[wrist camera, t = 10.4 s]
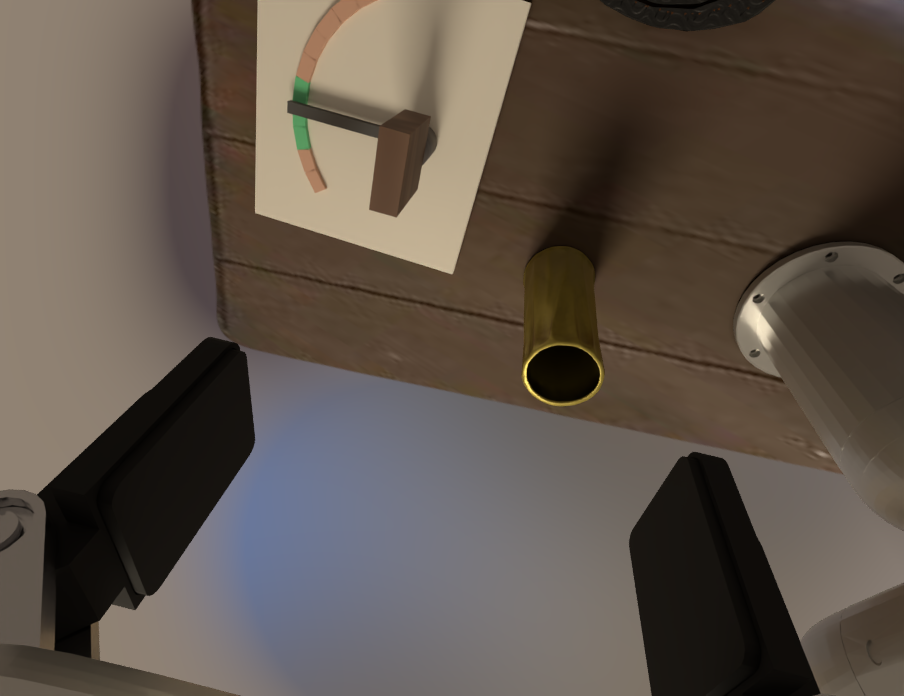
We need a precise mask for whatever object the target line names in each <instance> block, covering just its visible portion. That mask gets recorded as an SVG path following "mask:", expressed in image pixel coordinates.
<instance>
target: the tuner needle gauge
mask: <svg viewBox="0 0 904 696" xmlns="http://www.w3.org/2000/svg"><path fill="white" fill-rule="evenodd" d="M287 113H289V114H293V115H297V116H300V117H304V118H307V119H311V120H314V121H318V122H321V123H325V124H328V125H332V126H336V127H339V128H343V129H346V130H350V131H353V132H357V133H360V134H364V135H367V136H371V137H375V138H378V142H377V150H376V158H375V166H374V174H373V182H372V190H371V197H370V205H369V210H371V211H375V212H378V213H382V214H386V215H389V216H393V217H396V218H397V216H398V215H399V214H400V212H401V211H402V210H403V208H404V207H405V206H406V204H407V203H408V202H409V200H410V199H411V198H412V196H413V195H414V194H415V192H416V191H417V190H418V185H419V179H420V174H421V169H422V165H424V164H425V162H426V161H427V160H428V159H429V158H430V156H431V155H432V154H433V153H434V151H435V150H436V147H437V137H436V134H435V132H434V131H433V130H432V129H431V128H430V127H429V125H430V120H431V116H428V115H425V114H421V113H417V112H414V111H410V110H407V109H404V110H403V111H401V112H400V113H398V114H397V115H395V116H394V117H392V118H391V119H389V120H388V121H386V122H385V123H383V124H382V125H378V124H374V123H371V122H367V121H364V120H360V119H357V118H353V117H350V116H346V115H342V114H339V113H335V112H332V111H328V110H325V109H321V108H318V107H314V106H311V105H307V104H303V103H300V102H296V101H293V100H289V101H287Z"/></svg>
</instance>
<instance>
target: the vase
mask: <svg viewBox="0 0 904 696" xmlns="http://www.w3.org/2000/svg"><path fill="white" fill-rule="evenodd" d="M594 283H595V272H594V267H593V265H592V263H591V262H590V260H589V259H588V258H587V257H586V256H585V254H583V253H582V252H580V251H579V250H577V249H574V248H571V247H567V246H555V247H550V248H547V249H545V250H543V251H541V252H539V253H538V254H536V255H535V256H534V257H533V258H532V259H531V260H530V261H529V263H528V264H527V266H526V268H525V272H524V278H523V285H524V288H525V295H524V348H523V364H522V374H521V376H522V380H523V383H524V385H525V387H526V388H527V390H528V391H529V392H530V393H531V394H532V395H533V396H534V397H535V398H537V399H538V400H540V401H542V402H544V403H547V404H550V405H554V406H570V405H575V404H579V403H582V402H584V401H586V400H588V399H590V398H591V397H593V396H594V395H595V394H596V393H597V392H598V391H599V389H600V388H601V385H602V383H603V380H604V375H605V369H604V365H603V360H602V355H601V349H600V344H599V338H598V329H597V318H596V306H595V294H594Z"/></svg>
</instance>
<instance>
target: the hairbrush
mask: <svg viewBox="0 0 904 696" xmlns="http://www.w3.org/2000/svg"><path fill="white" fill-rule="evenodd" d="M600 1H602V2H603V3H604V4H605V5H607V6H609V7H610V8H612V9H614V10H616V11H618V12H619V13H621V14H623V15H625V16H627V17H629V18H631V19H634V20H636V21H639V22H642V23H644V24H647V25H650V26H653V27H658V28H666V29H676V30H682V31H696V30H706V29H715V28H719V27H724V26H728V25H733V24H737V23H741V22H745V21H747V20H749V19H751V18H752V17H754V16H756V15H757V14H759V13H760V12H762V11H763V10H764V9H765V8H766V7H768V6H769V5H770V4H771V3H772V2H774V1H775V0H718V1H715V2H712V3H709V4H707V5H702V6H695V7H688V8H663V7H653V6H652V7H651V6H649V5H646V4H644V3H641V2H639V1H637V0H600ZM646 1H650V2H653V3H657V4H664V5H687V4H699V3H703V2H705V1H708V0H646Z"/></svg>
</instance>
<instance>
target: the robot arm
mask: <svg viewBox="0 0 904 696" xmlns="http://www.w3.org/2000/svg"><path fill="white" fill-rule="evenodd" d="M755 295H756V296H755ZM733 331H734V336H735V340H736V342H737V344H738V346H739V348H740V350H741V352H742V353H743V355H744V356H745V358H746V359H747V360H748V361H749V362H750V363H752V364H753V365H754V366H755V367H756V368H758V369H760V370H762V371H764V372H766V373H768V374H771V375H775V376H778V377H782V379H783V380H784V382H785V384H786V385H787V387H788V388H789V390H790V391H791V393H792V395H793V396H794V398H795V399H796V401H797V402H798V404H799V406H800V407H801V409H802V410H803V412H804V413H805V415H806V417H807V418H808V420H809V421H810V423H811V424H812V426H813V427H814V429H815V431H816V432H817V434H818V435H819V437H820V438H821V440H822V442H823V443H824V445H825V446H826V448H827V449H828V451H829V453H830V454H831V456H832V457H833V459H834V460H835V462H836V463H837V465H838V467H839V468H840V469H841V471H842V472H843V474H844V475H845V477H846V478H847V480H848V482H849V483H850V485H851V486H852V488H853V489H854V491H855V492H856V494H857V495H858V496H859V497H860V499H861V500H862V501H863V502H864V503H865V504H866V505H867V506H868V507H869V508H870V509H871V510H872V511H873V512H874V513H876V514H877V515H878V516H879V517H881V518H882V519H884V520H885V521H886V522H888V523H889V524H891V525H893V526H895V527H897V528H899V529H901V530H902V531H904V263H903V262H902V261H900V260H899V259H898V258H897V257H895V256H894V255H893V254H891V253H889V252H887V251H886V250H884V249H882V248H880V247H877V246H874V245H870V244H867V243H860V242H851V241H848V242H831V243H826V244H821V245H816V246H812V247H809V248H806V249H803V250H801V251H798V252H795V253H793V254H791V255H789V256H787V257H785V258H783V259H781V260H779V261H778V262H777V263H775V264H774V265H772V266H771V267H769V268H768V269H766V270H765V271H764V272H763V273H762V274H761V275H760V276H759V277H758V278H756V279H755V280H754V281H753V282H752V284H751V285H750V286H749V287H748V289H747V290H746V291H745V293H744V294H743V296H742V298H741V300H740V302H739V303H738V305H737V308H736V312H735V315H734V322H733ZM254 443H255V433H254V423H253V414H252V404H251V395H250V385H249V376H248V367H247V357H246V354H245V352H242V351H240V347H239V345H238V344H237V343H234V342H229V341H225V340H221V339H217V338H213V337H208V338H206V339H205V340H204V341H202V342H201V343H200V344H199V345H198V346H197V347H196V348H195V349H194V350H193V351H192V352H191V353H190V354H188V355H187V357H185V358H184V359H183V360H182V361H181V362H180V363H179V364H178V365H177V366H176V367H175V368H174V369H173V370H172V371H170V372H169V373H168V374H167V375H166V376H165V377H164V378H163V379H162V380H161V381H160V382H159V383H158V384H157V385H156V386H155V387H154V388H153V389H151V390H149V391H148V392H147V393H145V394H144V395H143V396H142V397H141V398H139V399H138V400H137V401H136V402H135V403H134V404H133V405H132V406H131V407H130V408H129V409H128V410H127V411H126V412H125V413H124V414H123V415H121V416H120V417H119V418H118V419H117V420H116V421H115V422H114V423H113V424H112V425H111V426H110V427H109V428H108V429H106V430H105V431H104V432H103V433H102V434H101V435H100V436H99V437H98V438H97V439H96V440H95V441H94V442H93V443H92V444H91V445H89V446H88V447H87V448H86V449H85V450H84V451H83V452H82V453H81V454H80V455H79V456H78V457H77V458H76V459H75V460H73V461H72V462H71V463H70V464H69V465H68V466H67V467H66V468H65V469H64V470H63V471H62V472H61V473H60V474H59V475H58V476H57V477H56V478H54V479H53V480H52V481H51V482H50V483H49V484H48V485H47V486H46V487H45V488H44V489H43V490H42V491H40V492H39V494H37V495H36V494H34V493H31V492H28V491H25V490H3V491H0V696H239V695H236V694H231V693H228V692H224V691H220V690H216V689H212V688H209V687H205V686H201V685H197V684H193V683H189V682H186V681H182V680H178V679H174V678H170V677H166V676H163V675H159V674H154V673H150V672H146V671H142V670H138V669H133V668H129V667H125V666H121V665H117V664H113V663H108V662H104V661H100V652H99V623H98V621H100V619H101V618H102V617H103V615H104V614H105V612H106V611H107V610H108V609H109V607H110V606H111V604H113V605H117V606H121V607H125V608H128V609H133V610H136V609H137V607H138V606H139V604H140V602H141V601H142V600H143V598H144V597H145V596H146V595H147V596H150V595H153V594H154V593H155V592H156V591H157V590H158V589H159V588H160V586H161V585H162V584H163V582H164V581H165V579H166V578H167V576H168V575H169V573H170V572H171V570H172V569H173V567H174V566H175V564H176V563H177V561H178V560H179V558H180V557H181V555H182V554H183V553H184V551H185V549H186V548H187V547H188V545H189V543H190V542H191V541H192V539H193V538H194V536H195V535H196V533H197V532H198V530H199V529H200V528H201V526H202V525H203V523H204V521H205V520H206V519H207V517H208V516H209V514H210V513H211V511H212V510H213V508H214V507H215V505H216V504H217V502H218V501H219V499H220V498H221V496H222V495H223V493H224V492H225V490H226V489H227V488H228V486H229V485H230V483H231V482H232V480H233V479H234V477H235V476H236V474H237V473H238V471H239V470H240V468H241V467H242V466H243V464H244V463H245V461H246V460H247V458H248V456H249V455H250V453H251V452H252V449H253V447H254ZM629 547H630V555H631V561H632V568H633V575H634V580H635V588H636V594H637V601H638V607H639V614H640V621H641V627H642V633H643V640H644V647H645V654H646V660H647V667H648V673H649V680H650V687H651V693H652V696H904V583H901V584H899V585H897V586H895V587H892V588H890V589H888V590H885V591H883V592H881V593H879V594H876V595H874V596H872V597H870V598H867V599H865V600H862V601H860V602H858V603H856V604H853V605H851V606H849V607H848V608H845V609H843V610H841V611H839V612H836V613H834V614H832V615H830V616H828V617H827V618H825V619H823V620H821V621H819V622H818V623H817V624H815V625H814V626H812V627H811V628H810V629H809V630H808V631H807V632H806V634H805V635H804V636H803V638H802V640H801V642H800V640H799V638H798V635H797V633H796V630H795V628H794V625H793V623H792V620H791V618H790V615H789V613H788V610H787V608H786V605H785V603H784V600H783V598H782V595H781V593H780V590H779V588H778V586H777V583H776V580H775V578H774V575H773V573H772V570H771V568H770V565H769V563H768V560H767V558H766V555H765V553H764V550H763V548H762V545H761V544H760V542H759V540H758V538H757V536H756V534H755V531H754V529H753V526H752V524H751V521H750V519H749V516H748V514H747V511H746V509H745V506H744V504H743V501H742V499H741V496H740V494H739V491H738V489H737V486H736V484H735V481H734V478H733V476H732V474H731V471H730V468H729V466H728V464H727V462H726V461H725V460H724V459H723V458H719V457H715V456H711V455H706V454H702V453H698V452H692V453H690V454H689V456H688V457H683V456H682V457H681V458H680V459H679V460H678V461H677V463H676V464H675V466H674V467H673V469H672V470H671V472H670V474H669V475H668V477H667V478H666V479H665V481H664V482H663V484H662V485H661V487H660V489H659V490H658V492H657V493H656V495H655V496H654V498H653V499H652V501H651V502H650V504H649V505H648V507H647V508H646V510H645V511H644V513H643V515H642V516H641V518H640V519H639V521H638V522H637V524H636V525H635V527H634V528H633V530H632V532H631V535H630V540H629Z"/></svg>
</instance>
